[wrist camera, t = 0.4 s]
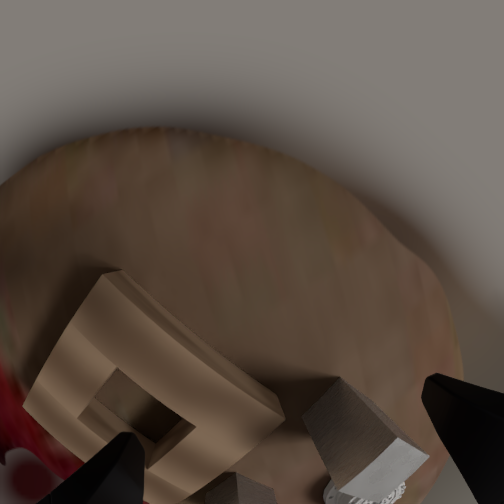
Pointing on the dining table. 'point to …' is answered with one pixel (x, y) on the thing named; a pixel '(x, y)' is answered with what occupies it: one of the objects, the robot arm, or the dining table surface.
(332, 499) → the mechanical component
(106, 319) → the hole block
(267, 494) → the grey cube
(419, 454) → the grey tall rectangular block
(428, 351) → the dining table surface
